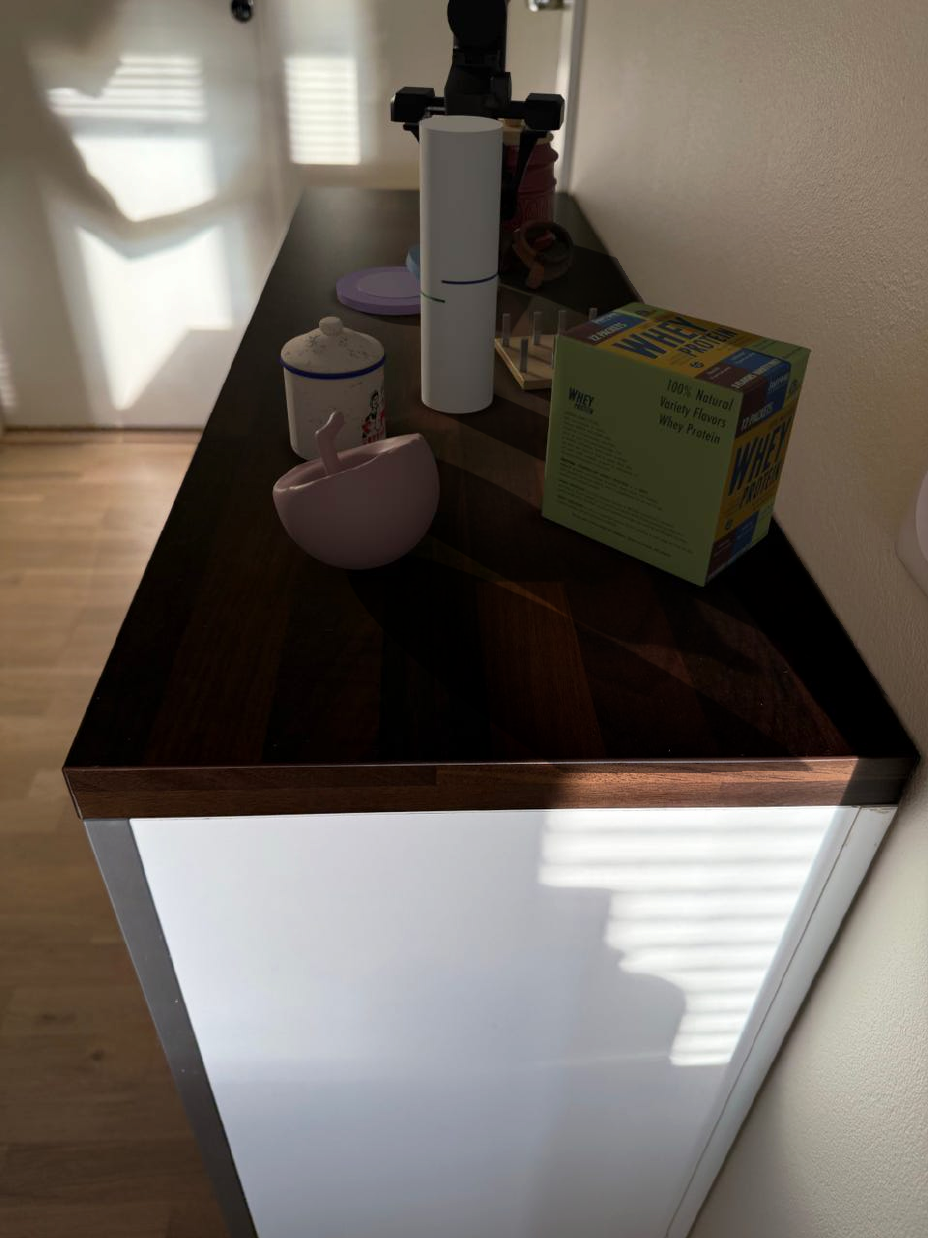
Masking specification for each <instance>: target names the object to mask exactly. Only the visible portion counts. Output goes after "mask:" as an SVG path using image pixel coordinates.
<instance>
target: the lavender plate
mask: <svg viewBox="0 0 928 1238" xmlns="http://www.w3.org/2000/svg"><path fill="white" fill-rule="evenodd" d="M335 290H336V291H335V292H336V298H337V300H338V301H339V302H340V303H341V304H342V305H344V306H345V307H346V308H347V307H348V308H349V309H352V310H354V311H358V312H363V313H367V314H372V315H373V314H374V315H381V316H411V315H421V281H420V280H419V279H417V278H416V277H415V276H414V275H413V274H412V273H411V272H410V271H409V270H408V268H407V266H403V265H402V266H400V265H399V266H398V265H397V266H378V267H370V268H365V269H360V270H357V271H353V272H351V273H348V274H346V275H344V276H343V277H341V278H340V279H338V281H337V282H336V285H335Z"/></svg>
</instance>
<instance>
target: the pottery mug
mask: <svg viewBox="0 0 928 1238" xmlns="http://www.w3.org/2000/svg"><path fill="white" fill-rule="evenodd" d="M547 230H548V231H550V232H551V233H553V236H554V237H555V238H554V239H555V241H557V242H558V243H559V242H560V243H562V244H564V246H565V252H564V253H562V254H561V255H557V256H548V255H546V254H545V253H544V252H542V251H540V250H538V251H537V250H536V249H534V248H532V247H533V244H534V242H535V241H536V239H537V237H541V236H544V235H545V234H546V233H547ZM499 247H500V250H501V251H498V270H497V271H499V273H502V272H505V273H506V272H507V271H508V270H509V269H510V268H512V267H514V266H517V265H525V266H526V267H527V268H529V269H530V270H529V273H528V276H527V277H526V279H525V286H527V287H528V288H531V289H532V290H537V288H538V287H540V286H541V285H542V282H543V283H548V282H550V281H552V280H555V279H557V278H559V277H561V276H563V275H564V274H566V273H567V272H568V269H570V268H571V267H572V264H573V259H574V254H573V251H574V240H573V239H572V236H571V234H570V233H569V232H568V231H567V229H565V228H564V227H562V225H560V224H558V223H556V222H555V221H553V222H550V221H548V220H544V219H532V220H529V221H527V222H525V223H524V224H523V225H522V226H521V228H519V229H517V230H516V231H514V232H512V233H508V232H505V231H503V230H501V229H499Z"/></svg>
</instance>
